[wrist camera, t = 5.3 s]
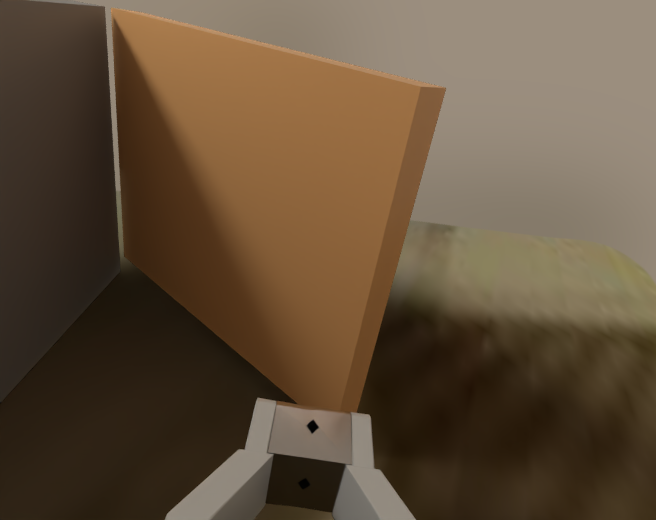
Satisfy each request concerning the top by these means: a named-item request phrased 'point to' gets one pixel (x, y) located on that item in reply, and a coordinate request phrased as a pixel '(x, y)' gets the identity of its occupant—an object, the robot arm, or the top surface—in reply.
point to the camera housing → (52, 175)
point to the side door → (269, 193)
